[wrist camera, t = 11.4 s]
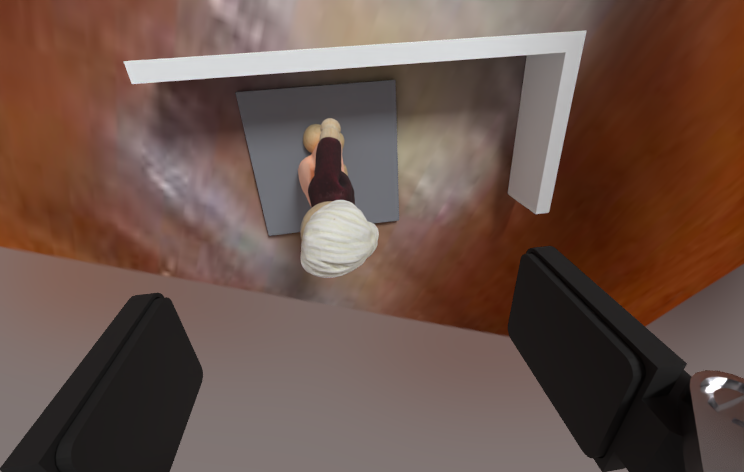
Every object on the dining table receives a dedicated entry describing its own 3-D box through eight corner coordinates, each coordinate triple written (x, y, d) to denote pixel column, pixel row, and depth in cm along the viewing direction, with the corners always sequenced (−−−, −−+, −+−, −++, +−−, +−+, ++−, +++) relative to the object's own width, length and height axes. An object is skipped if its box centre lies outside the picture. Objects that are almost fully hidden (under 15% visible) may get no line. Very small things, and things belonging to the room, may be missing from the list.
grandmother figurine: (280, 115, 22) (243, 178, 11) (338, 101, 22) (361, 148, 11) (315, 220, 26) (314, 346, 14) (364, 207, 26) (402, 323, 15)
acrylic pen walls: (543, 34, 22) (586, 30, 19) (519, 192, 27) (549, 212, 24) (157, 60, 20) (123, 61, 16) (211, 228, 25) (194, 256, 22)
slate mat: (394, 79, 22) (395, 80, 22) (397, 218, 27) (399, 220, 27) (236, 91, 21) (235, 92, 21) (269, 233, 26) (268, 235, 26)
